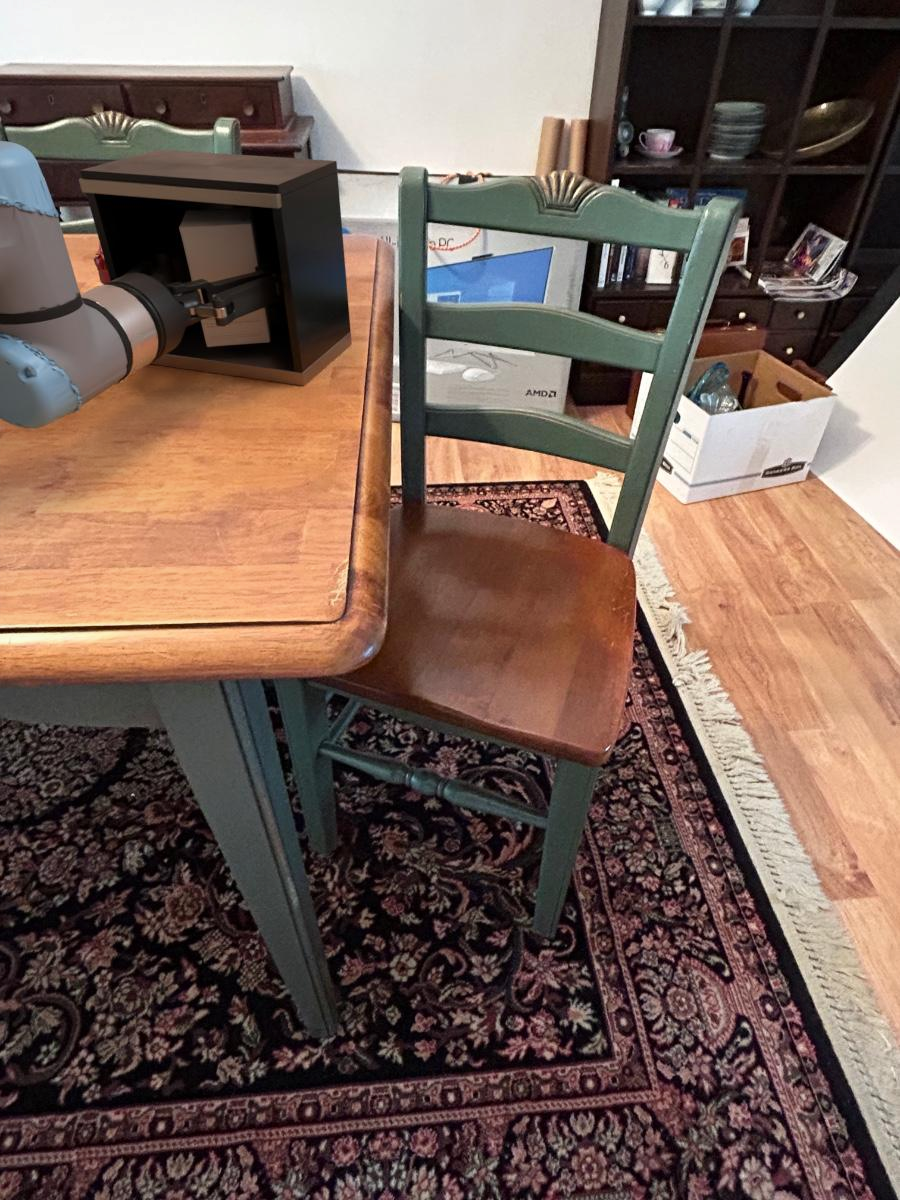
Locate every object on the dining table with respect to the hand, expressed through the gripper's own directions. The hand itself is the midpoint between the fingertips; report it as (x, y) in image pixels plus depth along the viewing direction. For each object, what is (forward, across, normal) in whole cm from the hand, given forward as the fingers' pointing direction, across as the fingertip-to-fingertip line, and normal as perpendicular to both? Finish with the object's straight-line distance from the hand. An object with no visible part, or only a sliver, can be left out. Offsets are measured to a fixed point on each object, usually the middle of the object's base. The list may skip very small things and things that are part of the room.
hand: (248, 260), depth 84 cm
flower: (+7, -22, -10) cm, 25 cm away
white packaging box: (-4, 0, -7) cm, 8 cm away
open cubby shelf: (-4, 0, -9) cm, 10 cm away
